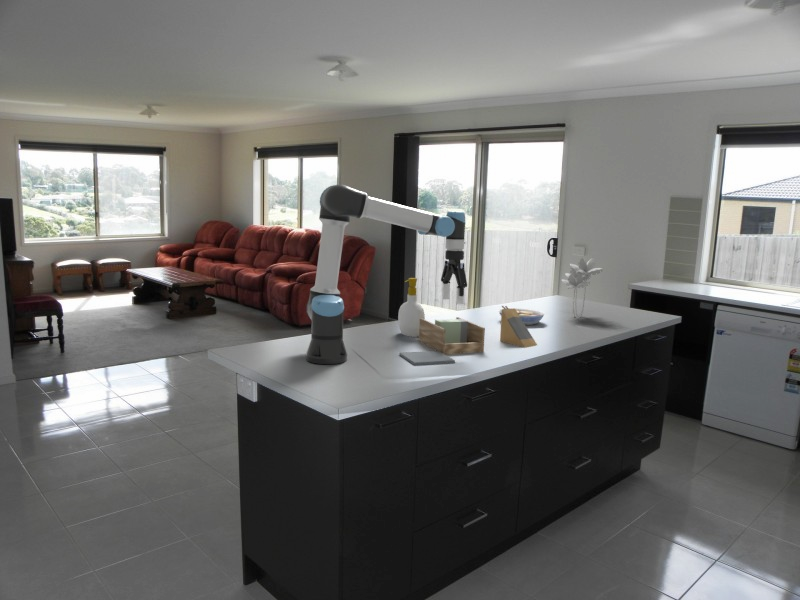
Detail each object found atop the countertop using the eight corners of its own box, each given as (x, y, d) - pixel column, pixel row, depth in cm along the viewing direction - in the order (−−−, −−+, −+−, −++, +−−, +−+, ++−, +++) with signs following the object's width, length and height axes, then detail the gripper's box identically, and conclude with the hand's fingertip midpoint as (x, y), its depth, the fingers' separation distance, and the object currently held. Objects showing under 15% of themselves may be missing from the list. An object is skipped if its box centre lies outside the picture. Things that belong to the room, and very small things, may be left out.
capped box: (439, 348, 243) (440, 322, 241) (433, 345, 248) (435, 319, 247) (466, 347, 247) (467, 321, 245) (460, 344, 253) (461, 318, 251)
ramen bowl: (548, 331, 288) (550, 315, 287) (501, 330, 289) (502, 313, 287) (538, 322, 313) (539, 307, 312) (494, 320, 313) (495, 305, 312)
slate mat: (414, 365, 215) (414, 362, 215) (399, 355, 230) (399, 352, 229) (454, 362, 220) (454, 360, 220) (437, 353, 235) (437, 350, 235)
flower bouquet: (547, 313, 323) (554, 303, 303) (566, 258, 330) (575, 245, 310) (578, 324, 321) (588, 315, 300) (597, 268, 328) (608, 256, 308)
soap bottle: (391, 334, 268) (393, 277, 264) (405, 332, 274) (407, 276, 270) (414, 340, 258) (416, 280, 254) (428, 337, 264) (431, 279, 260)
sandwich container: (526, 350, 246) (529, 314, 244) (499, 343, 258) (501, 309, 256) (540, 348, 252) (542, 313, 250) (512, 341, 264) (514, 307, 262)
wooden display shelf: (442, 354, 233) (443, 329, 232) (418, 341, 256) (419, 318, 255) (483, 352, 239) (484, 327, 238) (456, 339, 262) (457, 317, 261)
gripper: (477, 252, 232) (474, 305, 235) (450, 248, 255) (448, 297, 258) (459, 252, 229) (457, 306, 232) (434, 247, 252) (432, 297, 255)
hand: (452, 301), depth 245 cm, fingers open, 13 cm apart
